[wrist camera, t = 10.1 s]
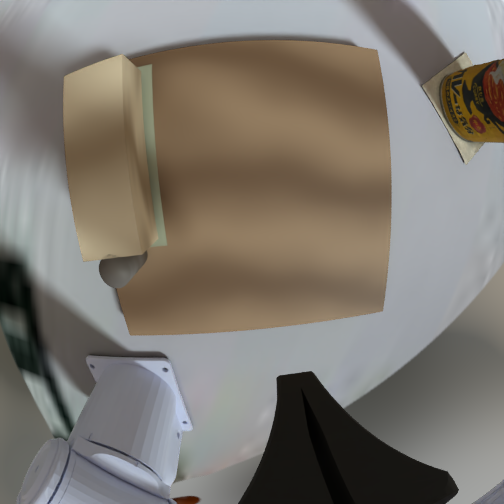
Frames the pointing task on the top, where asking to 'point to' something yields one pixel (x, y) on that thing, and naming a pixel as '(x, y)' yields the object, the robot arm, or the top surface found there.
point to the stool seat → (262, 187)
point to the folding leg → (109, 167)
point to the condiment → (470, 103)
